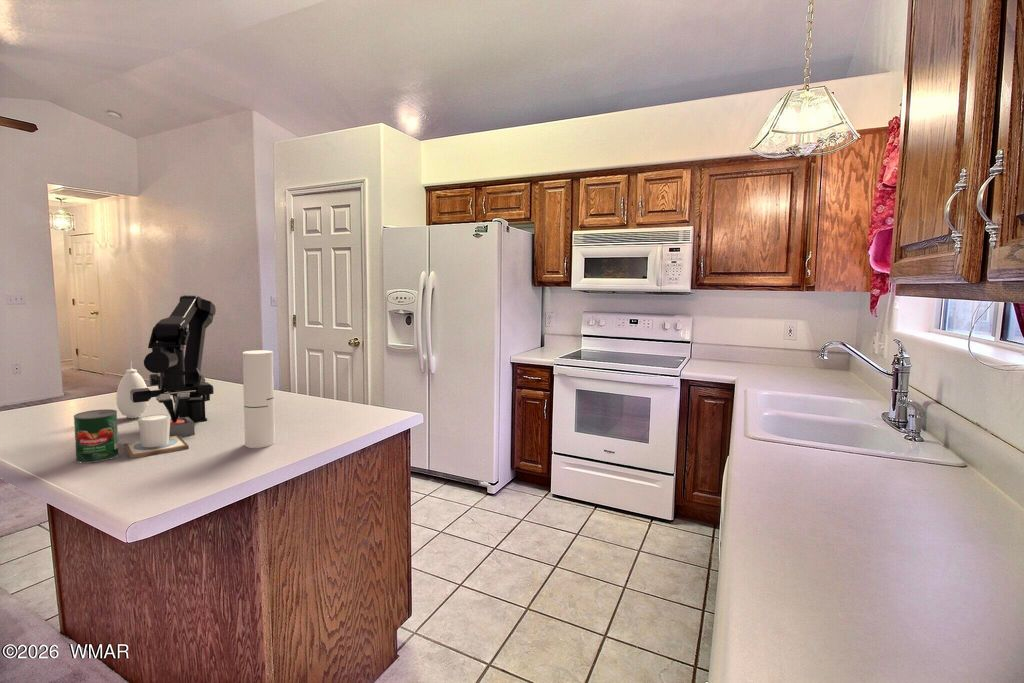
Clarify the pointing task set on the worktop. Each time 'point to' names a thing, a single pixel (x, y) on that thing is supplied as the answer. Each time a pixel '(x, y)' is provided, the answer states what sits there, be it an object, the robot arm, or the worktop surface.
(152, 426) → the white cup
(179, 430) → the button housing
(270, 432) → the cylindrical container
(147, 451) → the wooden picture frame
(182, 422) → the button
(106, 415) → the canned tomato
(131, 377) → the sauce bottle
